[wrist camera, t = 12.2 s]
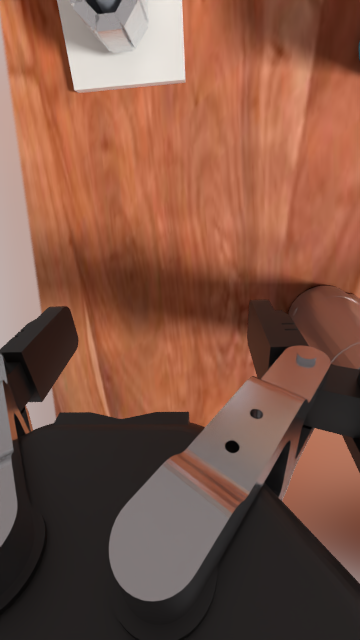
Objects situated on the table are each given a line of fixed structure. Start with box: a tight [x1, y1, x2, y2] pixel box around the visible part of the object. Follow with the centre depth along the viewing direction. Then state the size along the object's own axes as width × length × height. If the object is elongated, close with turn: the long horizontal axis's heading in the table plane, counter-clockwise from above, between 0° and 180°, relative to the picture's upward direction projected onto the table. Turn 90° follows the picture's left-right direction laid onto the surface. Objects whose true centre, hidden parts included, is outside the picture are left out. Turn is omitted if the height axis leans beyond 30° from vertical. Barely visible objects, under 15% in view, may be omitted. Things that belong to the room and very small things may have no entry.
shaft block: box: [57, 0, 185, 93], centre depth 24 cm, size 12×10×9 cm
